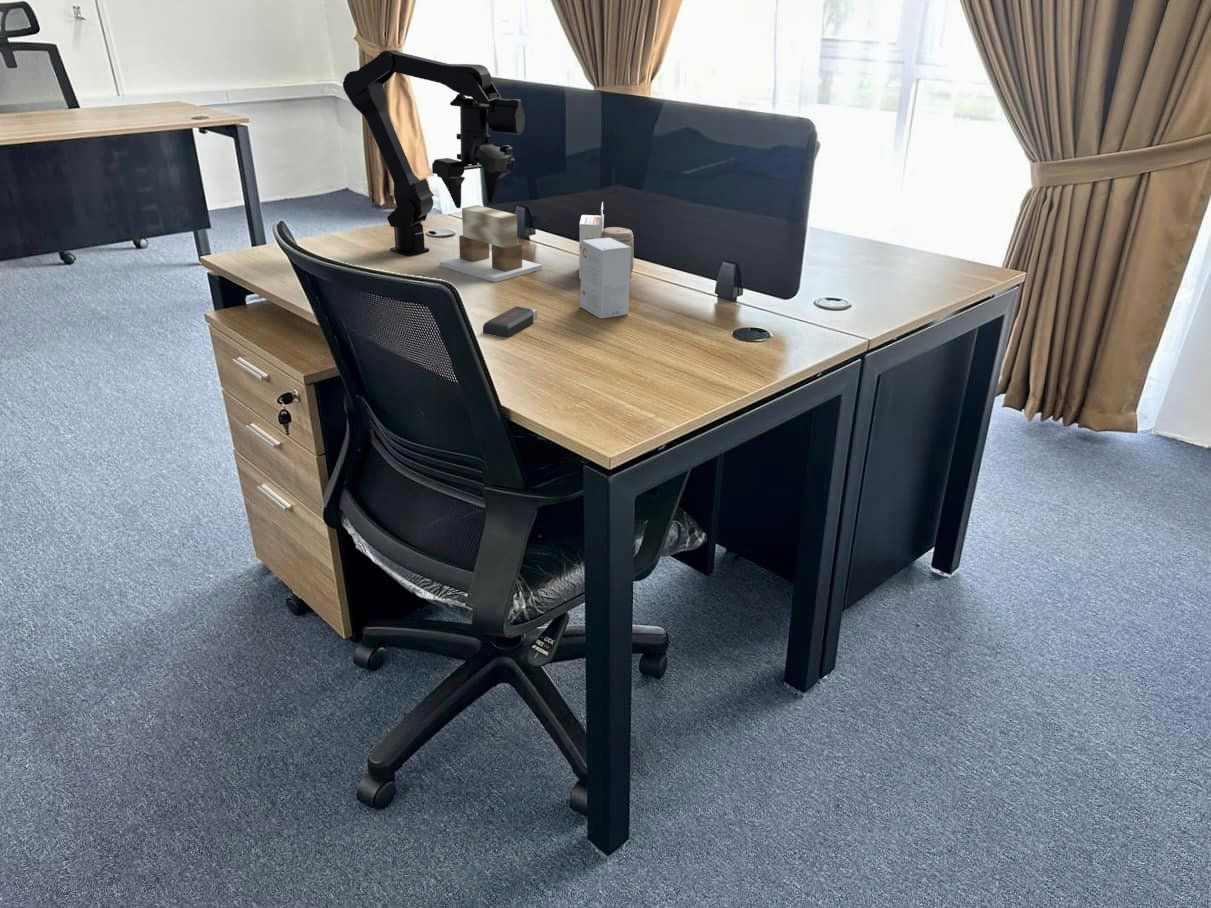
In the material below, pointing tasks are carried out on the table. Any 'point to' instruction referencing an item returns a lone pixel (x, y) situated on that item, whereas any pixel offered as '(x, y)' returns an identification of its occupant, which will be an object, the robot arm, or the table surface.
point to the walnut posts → (501, 256)
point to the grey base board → (488, 268)
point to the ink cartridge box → (590, 230)
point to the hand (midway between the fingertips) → (474, 205)
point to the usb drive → (510, 322)
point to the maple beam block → (489, 225)
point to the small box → (605, 277)
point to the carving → (621, 239)
